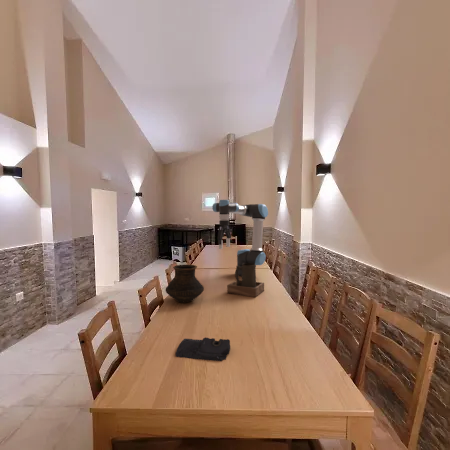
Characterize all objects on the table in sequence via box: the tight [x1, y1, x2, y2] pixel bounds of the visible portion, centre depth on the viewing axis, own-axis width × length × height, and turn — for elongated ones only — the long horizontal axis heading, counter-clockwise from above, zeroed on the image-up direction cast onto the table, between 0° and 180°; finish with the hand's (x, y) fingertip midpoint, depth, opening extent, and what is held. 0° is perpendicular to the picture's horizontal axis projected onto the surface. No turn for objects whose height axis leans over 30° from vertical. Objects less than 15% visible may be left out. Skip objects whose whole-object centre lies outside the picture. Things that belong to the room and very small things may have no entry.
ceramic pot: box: [165, 264, 205, 303], centre depth 185 cm, size 24×24×22 cm
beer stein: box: [234, 263, 257, 288], centre depth 203 cm, size 15×11×20 cm
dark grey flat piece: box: [175, 337, 231, 362], centre depth 119 cm, size 15×22×5 cm
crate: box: [226, 279, 265, 298], centre depth 205 cm, size 17×21×6 cm
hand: (224, 247), depth 217 cm, fingers open, 13 cm apart
